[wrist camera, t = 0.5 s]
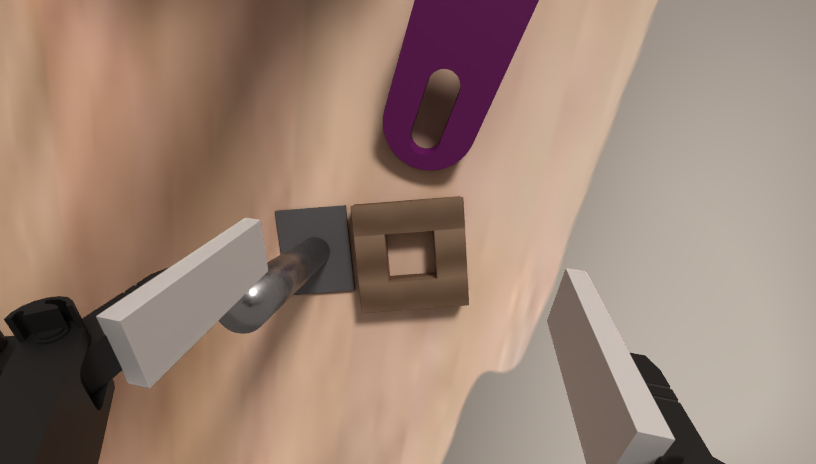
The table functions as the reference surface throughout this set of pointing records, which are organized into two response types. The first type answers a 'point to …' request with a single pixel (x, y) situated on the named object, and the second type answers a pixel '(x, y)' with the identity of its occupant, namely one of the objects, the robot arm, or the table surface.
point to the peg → (276, 285)
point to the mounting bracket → (464, 55)
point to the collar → (414, 288)
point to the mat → (330, 229)
